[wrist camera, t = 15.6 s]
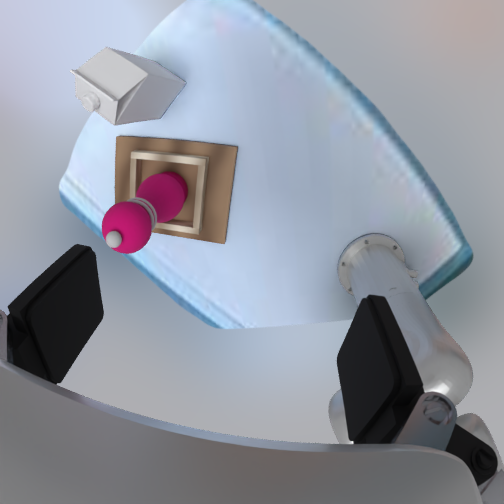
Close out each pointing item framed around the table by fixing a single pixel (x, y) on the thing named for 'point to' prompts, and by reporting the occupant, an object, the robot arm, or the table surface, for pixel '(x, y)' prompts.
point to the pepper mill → (144, 212)
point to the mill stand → (192, 171)
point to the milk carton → (125, 87)
